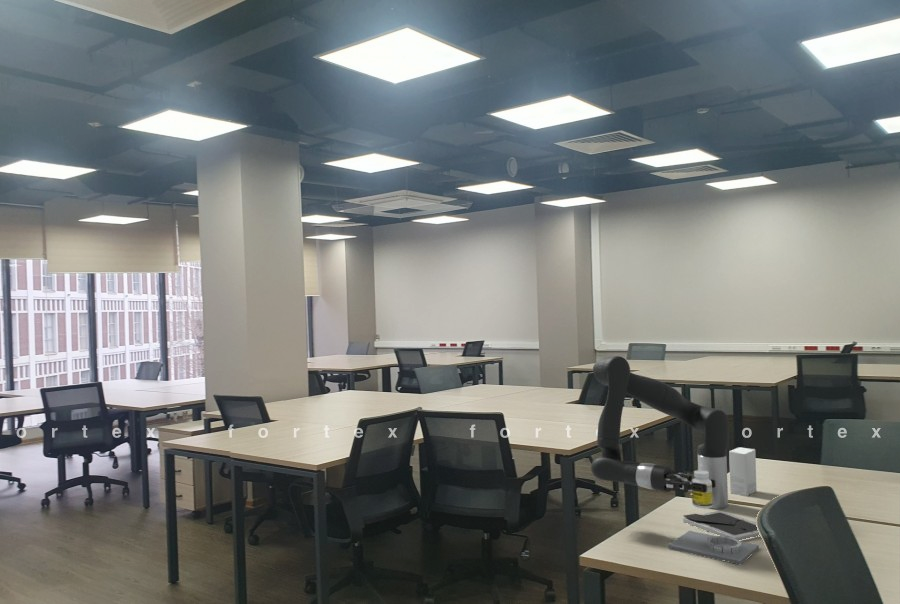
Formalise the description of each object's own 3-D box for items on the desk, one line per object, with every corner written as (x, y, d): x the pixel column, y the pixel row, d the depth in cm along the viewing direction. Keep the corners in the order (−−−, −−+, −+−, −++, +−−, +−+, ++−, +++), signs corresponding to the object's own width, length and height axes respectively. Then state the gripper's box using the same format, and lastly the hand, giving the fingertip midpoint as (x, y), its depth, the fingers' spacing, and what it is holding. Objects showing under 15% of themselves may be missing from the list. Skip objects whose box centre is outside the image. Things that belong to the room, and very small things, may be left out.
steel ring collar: (713, 539, 192) (713, 534, 192) (746, 546, 186) (745, 540, 186) (701, 548, 185) (701, 542, 185) (734, 555, 179) (734, 550, 179)
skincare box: (740, 488, 246) (739, 446, 246) (758, 492, 241) (756, 449, 241) (729, 493, 240) (727, 450, 240) (747, 496, 235) (745, 453, 235)
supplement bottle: (688, 504, 191) (687, 470, 191) (703, 502, 193) (702, 468, 193) (701, 509, 186) (700, 474, 186) (716, 507, 187) (715, 472, 187)
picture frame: (683, 524, 210) (734, 545, 191) (683, 515, 210) (734, 535, 191) (720, 516, 216) (774, 536, 197) (720, 508, 216) (773, 526, 197)
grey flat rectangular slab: (689, 533, 200) (689, 530, 200) (759, 548, 186) (759, 545, 186) (668, 548, 188) (668, 544, 188) (740, 565, 175) (740, 561, 175)
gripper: (643, 469, 194) (700, 478, 182) (665, 459, 204) (720, 468, 192) (644, 494, 194) (701, 505, 182) (666, 484, 204) (721, 493, 192)
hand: (710, 486), depth 187 cm, fingers closed on supplement bottle, 5 cm apart
